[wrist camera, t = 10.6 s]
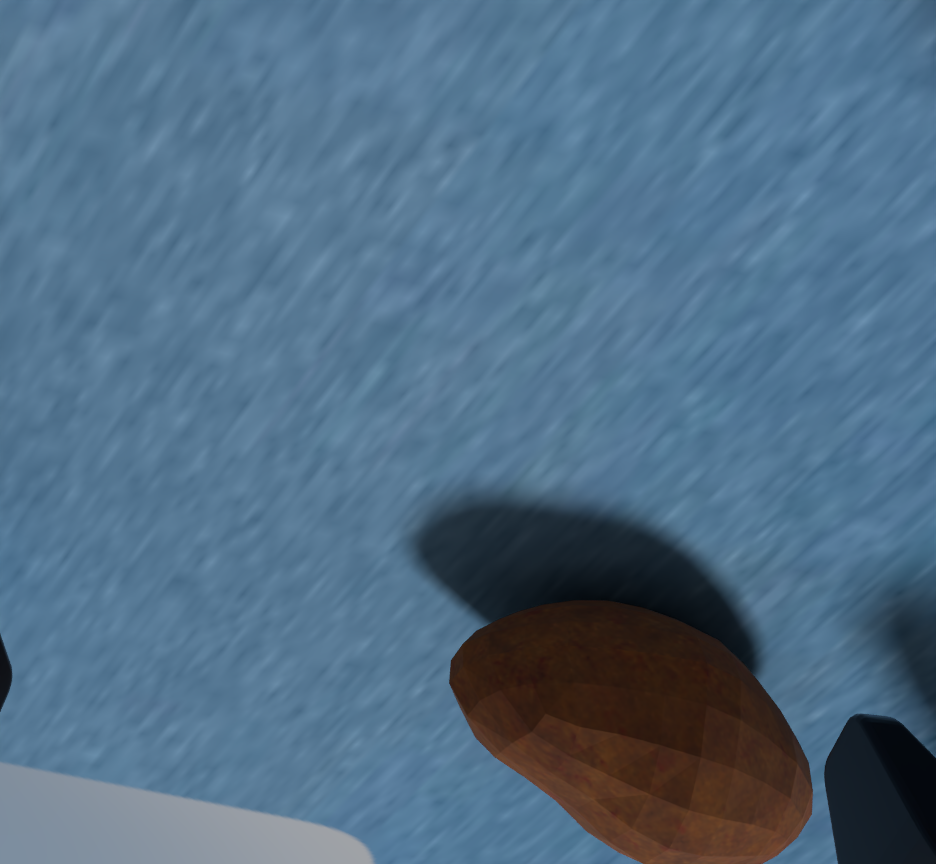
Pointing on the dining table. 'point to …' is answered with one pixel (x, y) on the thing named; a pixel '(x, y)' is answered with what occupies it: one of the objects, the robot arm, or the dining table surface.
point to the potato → (637, 731)
